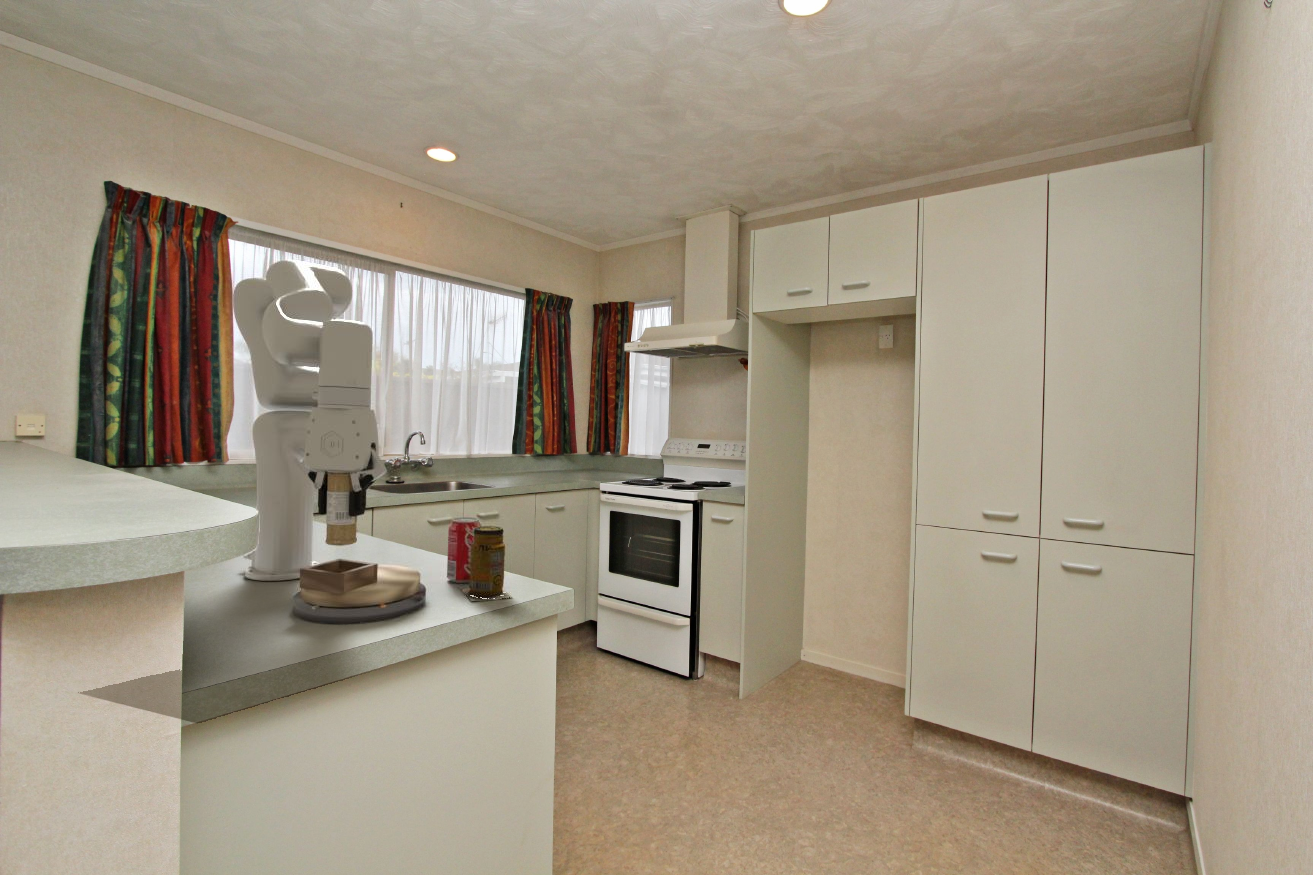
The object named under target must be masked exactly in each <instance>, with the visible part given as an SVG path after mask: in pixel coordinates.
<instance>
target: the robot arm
mask: <svg viewBox="0 0 1313 875" xmlns="http://www.w3.org/2000/svg"><path fill="white" fill-rule="evenodd" d="M352 298H353V286H352V283H351V280H350V278H349V277H348V275H347V274H346V273H345V272H344V271H342V270H340V269H338V268H335V267H330V266H325V265H321V264H316V263H310V262H307V261H300V260H295V259H282V260H279V261H276V262H274V263H272V264H271V265H270V266H269V268H268V269H267V271H266V274H265V278H263V277H253V278H252V277H251V278H245V279H242V280H240V281H239V282H237V284H236V285H235V287H234V289H233V294H232V307H233V314H234V320H235V322H236V325H237V328H238V330H239V333H240V335H241V336H242V338H243V339H244V342H245V344H246V346H247V348H248V350H249V354H250V361H251V367H252V375H253V384H254V389H255V394H256V398H257V401H258V403H259V404H260V406H261V407H262V408H264V409H266V410H269V411H268V412H264V413H262V414H260V415H259V416H257V418H256V419H255V420H254V421H253V424H252V431H251V432H252V433H251V435H252V441H253V443H252V444H253V448H254V453H255V456H254V457H255V463H256V504H255V505H256V508H255V510H258V511H259V514H260V532H259V544H258V547H257V549H256V550H255V551H253V552H252V553H250V554H248V555H247V556H244V555H243V559H245V560H251V565H250V566H248V567H247V568H246V569H245V570H244V577H246V578H247V579H249V580H252V581H253V580H254V581H262V582H267V581H268V582H274V581H276V582H277V581H288V580H289V581H290V580H296V579H297V580H298V579H300V569H302V568H305V567H309V566H313V565H317V564H321V563H320V562H318V561H315V560H313V536H314V535H313V532H314V503H315V502H314V501H315V500H314V498H315V493H314V492H315V489H316V490H317V508H318V515H322V516H323V515H326V514H327V490H328V474H327V473H328V472H327V471H333V472H350V475H351V480H352V486H353V491H350V493H349V516H351V517H355V516H357V517H359V516H363V515H364V514H365V511H366V507H367V491H368V490H369V489H370V488H371V486H372V485H373V484H374V483H375V482H376V481H377V479H380V478H381V477H383V476H384V475H386V474H387V473H388V472H387V471H388V469H387V467H386V465H385V464H384V463H383V461H382V460H381V458H380V456H379V454H380V453H379V451H380V450H379V447H380V446H379V445H380V444H379V433H378V423H377V418H376V414H375V409H371V408H372V377H373V376H372V372H373V371H372V370H373V341H374V340H373V339H374V338H373V333H374V332H373V330H372V328H371V326H369V325H368V324H366V323H364V322H361V321H356V320H347V319H346V320H345V319H338V318H339V317H340V316H341V315H343V314H344V313H345V312H346V311H347V309H348V308H349V307H350V304H351V302H352ZM368 471H370V472H369V473H368Z"/></svg>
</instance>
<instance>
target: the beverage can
mask: <svg viewBox="0 0 1313 875" xmlns="http://www.w3.org/2000/svg"><path fill="white" fill-rule="evenodd" d="M481 526H482V524H481V523H480V519H479V518H477V517H476V518H475V517H467V516H466V517H465V516H464V517H463V516H461V517H455V518H452V520H451V522H450V524H449V526H448V533H447V534H448V537H447V564H446V565H447V569H446V578H447V579H448V580H450V581H451V582H453V583H458V584H459V583H460V584H467V583H470V560H471V544H472V543H473V541H474V539H473V537H474V529H475V528H477V527H481Z"/></svg>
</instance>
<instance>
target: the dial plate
mask: <svg viewBox="0 0 1313 875" xmlns="http://www.w3.org/2000/svg"><path fill="white" fill-rule="evenodd" d="M426 598H427V588H426V585H424V584H423V582H420V589H419V591H418V592H417V593H415V594H414V595H412V596H409V597H407V598H404V599H401V600H398V601H394V602H389V603H384V604H378V605H371V606H360V607H327V606H319V605H314V604H310V603H307V602H305V601H303V600H302V599H301V590H299V591H298V592H296V593H295V595H294V596H293V598H292V614H293V616H295V617H296V618H298V619H300V620H303V621H306V622H310V623H315V624H324V625H326V624H327V625H354V624H355V625H356V624H367V622H368V623H375V622H380V621H386V620H387V621H388V620H392V619H395V618H399V617H402V616H405V615H408V614H410V613H411V614H412V613H413V612H415V611H417V610H419V609H421V608H422V607H423V606H424V605H425V603H426Z"/></svg>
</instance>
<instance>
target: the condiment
mask: <svg viewBox="0 0 1313 875" xmlns="http://www.w3.org/2000/svg"><path fill="white" fill-rule="evenodd" d="M504 532H505V531H504V529H503V528H502V527H500V526H496V525H495V526H494V525H485V526H483V525H481V527H477V528H475V529H474V537H473V539H474V541H473V543H472V544H471V560H470V582H469V587H466V588H465V587H464V588H461V590H462V592H463V593H464V595H466V597H467V598H468V599H469V600H470V601H471V602H482V601H485V602H486V601H487V600H488V601H497V600H503V599H502V598H506V599H513V597H512V595H511V594H510V593H509V592H508V591H506V590H505V588H504V584H505V583H504V582H505V581H504V580H505V558H506V557H505V556H506V544H505V542H504V541H503V540H504ZM503 592H506V593H503ZM470 595H474V596H476V597H478V598H476V597H472V596H470ZM498 595H504V596H498ZM480 597H482V598H487V599H482V598H480ZM509 597H510V598H509ZM488 598H489V599H488ZM493 598H495V599H493Z"/></svg>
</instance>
